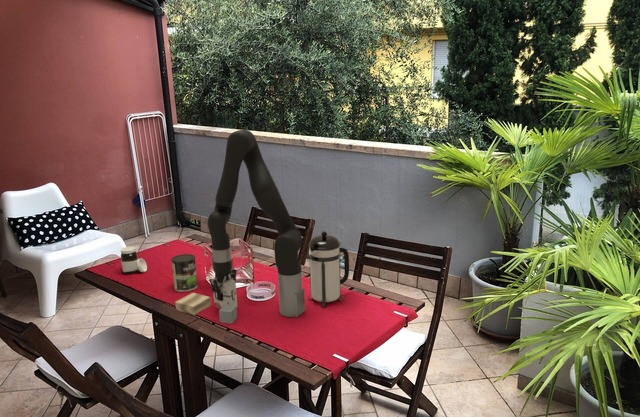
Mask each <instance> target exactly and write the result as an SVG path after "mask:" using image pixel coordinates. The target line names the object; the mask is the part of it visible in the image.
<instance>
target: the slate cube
mask: <svg viewBox="0 0 640 417" xmlns="http://www.w3.org/2000/svg"><path fill="white" fill-rule="evenodd" d="M237 310H238V309H237V308H236V306H228V305H224V306H223V307H222V308H221V309H218V315H219V316H218V317H219V323H220V322H221V323H222V324H230V325H231V324H233V323H235V321H236V320H237V319H238V311H237Z"/></svg>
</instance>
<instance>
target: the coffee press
mask: <svg viewBox="0 0 640 417" xmlns="http://www.w3.org/2000/svg"><path fill="white" fill-rule="evenodd" d="M308 248H309V250H308V255H309V283H310V288H309V289H310V294H309V295H308V298H307V300H309V301H312V300H314V301H317V302H319V303H321V304H322V305H321V306H322V308H326V307H327V303H331V302H334V301H336V300H339V301H340V302H343V301H344V299H345V298H344V296H343V295H342V290H341V288H342V284H344V283H346V282H347V280H348V279H349V276H350V254H349V251H348V250H347V249H346V248H345V247H341V242H340V241H339V239H338V238H337V237H335V236H332V235H328V233H327V232H326V231H322V232H321V234H320V235H317V236H315V237H313V238H311V239H310V241H309V243H308ZM341 253H343V257H344V258H343V260H344V266H343V267H344V272H343V273H344V275H343V277H342V278H341ZM310 296H311V298H310ZM340 297H341V298H342V299H341V298H340Z"/></svg>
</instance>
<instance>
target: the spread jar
mask: <svg viewBox="0 0 640 417" xmlns="http://www.w3.org/2000/svg"><path fill="white" fill-rule="evenodd" d="M136 250H137V249H136V247H135V246H124V247H122V248H121V249H120V253H121V254H120V263H121V269H122V272H123V274H125V275H130V274H132V275H133V274H135V273H138V272H141V273H145V272H147V270H148V266H147V262H146V261H145V259H144V258H142V257H141V258H138V252H137V251H136Z"/></svg>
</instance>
